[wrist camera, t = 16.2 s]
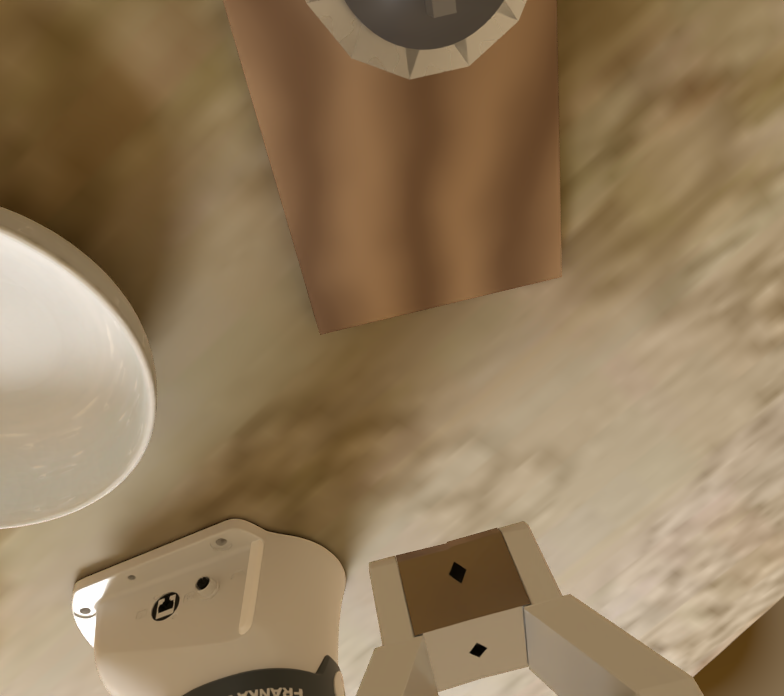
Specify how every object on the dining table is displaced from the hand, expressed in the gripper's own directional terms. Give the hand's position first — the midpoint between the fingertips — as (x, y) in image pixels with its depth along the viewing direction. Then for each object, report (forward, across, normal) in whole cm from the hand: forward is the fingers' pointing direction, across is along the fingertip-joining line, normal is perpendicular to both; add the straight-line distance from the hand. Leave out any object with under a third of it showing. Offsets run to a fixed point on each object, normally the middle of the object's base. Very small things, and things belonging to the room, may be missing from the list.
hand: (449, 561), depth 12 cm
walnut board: (+28, +5, +2) cm, 29 cm away
